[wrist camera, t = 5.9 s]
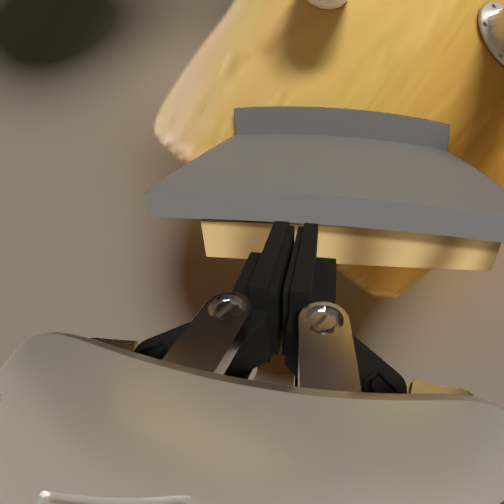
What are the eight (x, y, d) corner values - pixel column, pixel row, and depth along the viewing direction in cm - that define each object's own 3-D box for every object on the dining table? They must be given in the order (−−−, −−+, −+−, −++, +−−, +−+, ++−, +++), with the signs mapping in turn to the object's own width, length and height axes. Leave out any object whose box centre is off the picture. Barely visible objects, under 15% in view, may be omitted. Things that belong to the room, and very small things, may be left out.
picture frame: (430, 171, 31) (502, 240, 16) (427, 192, 32) (490, 270, 18) (249, 159, 35) (200, 221, 20) (251, 181, 37) (206, 256, 22)
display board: (445, 123, 32) (559, 179, 10) (438, 184, 37) (523, 287, 16) (236, 108, 39) (134, 140, 17) (241, 169, 44) (159, 261, 23)
